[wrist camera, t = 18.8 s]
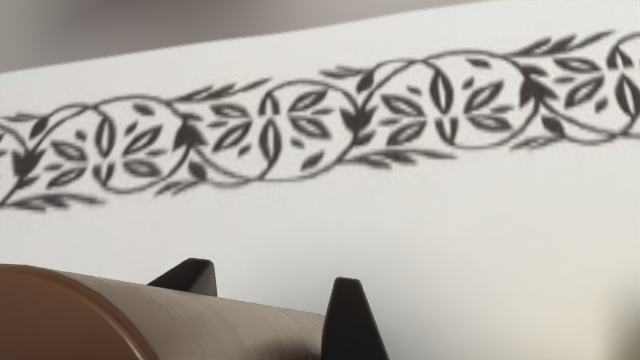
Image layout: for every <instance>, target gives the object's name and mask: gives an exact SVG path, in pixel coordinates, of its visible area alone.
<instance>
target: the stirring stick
mask: <svg viewBox="0 0 640 360" xmlns="http://www.w3.org/2000/svg"><path fill="white" fill-rule="evenodd" d="M324 319H325V316H322V315H320V314H315V313H309V312H303V311H297V310H291V309H285V308H279V307H273V306H267V305H261V304H255V303H249V302H243V301H237V300H231V299H225V298H219V297H213V296H207V295H201V294H195V293H190V292H184V291H178V290H172V289H166V288H160V287H154V286H148V285H142V284H136V283H130V282H124V281H118V280H112V279H106V278H100V277H94V276H88V275H82V274H76V273H70V272H64V271H59V270H53V269H47V268H41V267H35V266H29V265H17V264H0V360H321V338H322V329H323V324H324Z"/></svg>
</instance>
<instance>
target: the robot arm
mask: <svg viewBox="0 0 640 360" xmlns="http://www.w3.org/2000/svg"><path fill="white" fill-rule="evenodd" d="M147 285H148V286H154V287H160V288H166V289H172V290H178V291H184V292H190V293H195V294H201V295H207V296H213V297H217V287H216V278H215V268H214V265H213V262H211V261H210V260H206V259H198V258H189V259H187V260H185V261H183V262H182V263H180V264H178V265H177V266H175V267H174V268H172V269H171V270H169V271H167V272H166V273H164V274H163V275H161V276H159V277H158V278H156V279H155V280H153V281H152V282H150V283H148V284H147ZM321 360H390V359H389V357H388V354H387V351H386V349H385V346H384V343H383V341H382V338H381V335H380V333H379V330H378V327H377V325H376V322H375V319H374V316H373V314H372V311H371V308H370V306H369V303H368V300H367V298H366V295H365V292H364V290H363V287H362V284H361V282H360V281H359V280H358V279H352V278H344V277H337V278H336V279H335V281H334V285H333V289H332V293H331V296H330V300H329V304H328V308H327V312H326V316H325V319H324V324H323V329H322V338H321Z"/></svg>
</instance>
